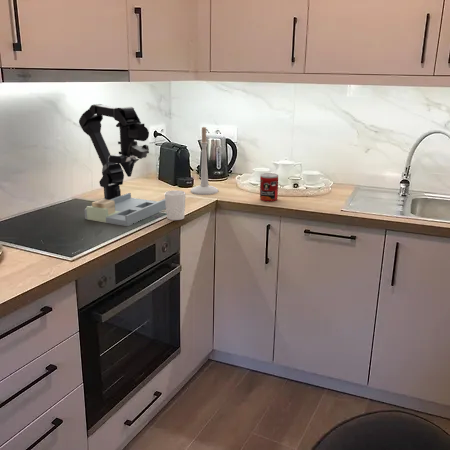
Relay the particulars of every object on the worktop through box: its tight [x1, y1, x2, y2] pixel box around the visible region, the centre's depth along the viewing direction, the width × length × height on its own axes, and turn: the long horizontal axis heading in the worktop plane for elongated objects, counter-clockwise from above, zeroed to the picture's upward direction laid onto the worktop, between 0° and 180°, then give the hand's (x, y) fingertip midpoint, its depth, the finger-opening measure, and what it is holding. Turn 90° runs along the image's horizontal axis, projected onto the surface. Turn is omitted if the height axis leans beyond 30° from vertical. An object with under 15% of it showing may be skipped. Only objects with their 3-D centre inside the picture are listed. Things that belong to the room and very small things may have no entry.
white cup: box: [164, 189, 186, 221], centre depth 195 cm, size 8×8×10 cm
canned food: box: [259, 172, 279, 202], centre depth 221 cm, size 8×8×11 cm
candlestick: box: [190, 126, 219, 196], centre depth 232 cm, size 13×13×30 cm
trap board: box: [84, 192, 166, 227], centre depth 202 cm, size 20×28×5 cm
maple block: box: [91, 198, 115, 215], centre depth 195 cm, size 6×6×4 cm
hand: (129, 176), depth 211 cm, fingers closed
